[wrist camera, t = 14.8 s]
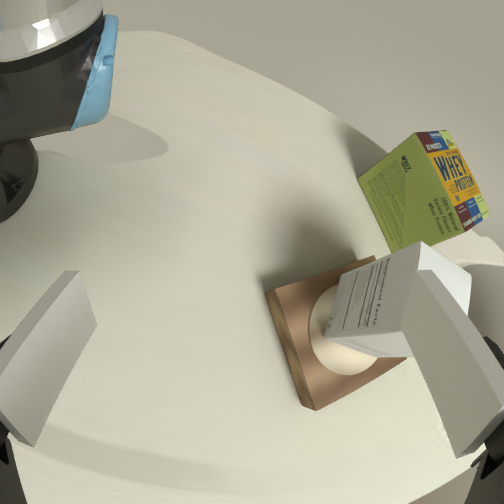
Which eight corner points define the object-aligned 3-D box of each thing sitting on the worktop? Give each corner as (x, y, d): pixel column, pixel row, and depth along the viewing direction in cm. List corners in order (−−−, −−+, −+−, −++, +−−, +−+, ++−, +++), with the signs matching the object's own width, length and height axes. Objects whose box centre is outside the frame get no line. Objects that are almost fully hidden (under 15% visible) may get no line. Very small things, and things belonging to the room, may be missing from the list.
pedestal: (264, 293, 41) (276, 288, 37) (358, 261, 46) (375, 254, 42) (302, 405, 38) (317, 411, 34) (389, 358, 43) (408, 358, 40)
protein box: (394, 262, 49) (465, 233, 34) (355, 179, 51) (413, 130, 36) (428, 243, 52) (491, 214, 38) (392, 169, 54) (447, 127, 40)
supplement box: (390, 297, 41) (474, 274, 27) (375, 358, 38) (464, 356, 24) (340, 271, 40) (421, 236, 26) (320, 338, 37) (406, 331, 23)
